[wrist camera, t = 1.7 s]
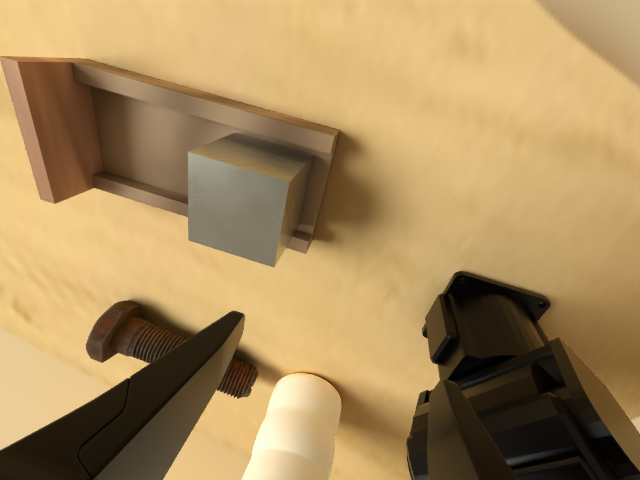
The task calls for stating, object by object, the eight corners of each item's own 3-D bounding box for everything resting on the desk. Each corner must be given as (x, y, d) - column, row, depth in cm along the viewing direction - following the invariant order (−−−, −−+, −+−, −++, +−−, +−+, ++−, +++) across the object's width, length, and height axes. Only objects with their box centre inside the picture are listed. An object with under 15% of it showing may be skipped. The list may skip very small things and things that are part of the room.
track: (339, 130, 18) (323, 149, 14) (312, 239, 23) (293, 279, 18) (85, 58, 20) (-1, 56, 15) (104, 175, 24) (40, 199, 19)
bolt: (264, 357, 34) (134, 304, 33) (267, 352, 29) (117, 291, 29) (240, 415, 31) (98, 358, 30) (239, 420, 26) (72, 354, 26)
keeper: (313, 155, 18) (289, 182, 14) (298, 226, 21) (274, 267, 16) (235, 132, 18) (187, 151, 14) (230, 205, 21) (188, 240, 17)
